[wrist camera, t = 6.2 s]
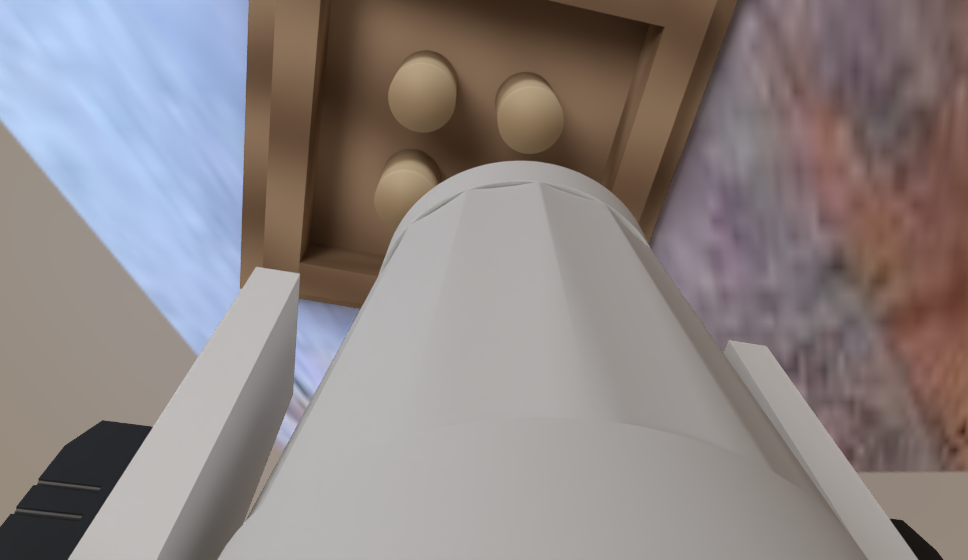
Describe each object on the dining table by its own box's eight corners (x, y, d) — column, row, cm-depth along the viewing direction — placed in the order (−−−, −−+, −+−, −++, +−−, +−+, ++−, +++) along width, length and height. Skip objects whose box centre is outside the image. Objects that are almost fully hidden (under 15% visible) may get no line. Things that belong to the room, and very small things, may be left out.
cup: (630, 443, 17) (841, 1264, 6) (334, 394, 17) (39, 1205, 6) (743, 161, 13) (1670, 1016, 3) (365, 86, 13) (-284, 794, 2)
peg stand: (262, -168, 22) (223, -188, 19) (745, -49, 24) (791, -46, 21) (246, 278, 30) (217, 323, 27) (605, 338, 32) (621, 387, 29)
